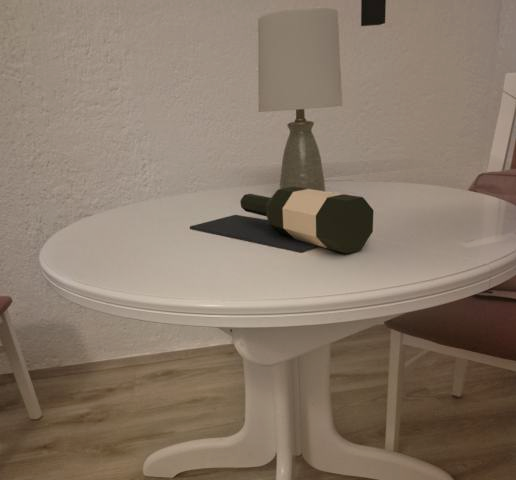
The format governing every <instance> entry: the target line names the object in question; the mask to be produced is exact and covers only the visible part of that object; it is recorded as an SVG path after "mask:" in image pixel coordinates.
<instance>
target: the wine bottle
mask: <svg viewBox="0 0 516 480" xmlns="http://www.w3.org/2000/svg"><path fill="white" fill-rule="evenodd" d="M325 191H326V190H325ZM325 191H319V190H312V189H305V188H299V187H289V188H283V189H280V188H278V189H277V190H276V191H275V192H274V194H272V196H264V195H260V194H259V195H258V194H253V193H246V194H243V196H242V197H241V199H240V201H239V202H240V208H241V209H242V210H244V211H245V212H246V213H251V214H255V215H259V216H263V217H266V220H268V223H269V225H270V226H271V227H272V228H273V229H275V230H276V231H277V232H278V233H279V234H280V235H283V236H286V237H290V238H293V239H297V240H300V241H304V242H307V243H311V244H314V245H318V246H319V247H321V248H325V249H328V250H331V251H336V252H339V253H342V254H349V253H352V252H357V251H360V250H363V248H364V246H365V245H366V243H367V241H368V240H369V238H370V237H371V235H372V234H373V231H374V209H373V208H372V206H371V205H370V204H369V203H368V201H367V200H366V198H364V197H363V196H359V195H358V196H357V195H351V194H345V193H339V192H333V191H332V192H331V191H326V192H325Z"/></svg>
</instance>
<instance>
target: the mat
mask: <svg viewBox="0 0 516 480" xmlns="http://www.w3.org/2000/svg"><path fill="white" fill-rule="evenodd" d="M189 229H190V230H194V231H198V232H203V233H209V234H213V235H218V236H223V237H227V238H231V239H235V240H236V239H237V240H241V241H245V242H250V243H255V244H260V245H264V246H269V247H274V248H277V249H283V250H287V251H292V252H298V253H305V252H307V251H310V250H312V249H315V248H318V247H320V246H318V245H314V244H311V243H307V242H304V241H300V240H297V239H293V238H290V237H286V236H283V235H280V234H279V233H278V232H277V231H276V230H275V229H273V228H272V227H271V226H270V225H269V223H268V219H264V218H259V217H253V216H245V215H239V214H232V215H229V216H225V217H220V218H217V219H213V220H208V221H205V222H201V223H197V224H194V225H190V226H189Z"/></svg>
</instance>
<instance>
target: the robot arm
mask: <svg viewBox="0 0 516 480" xmlns="http://www.w3.org/2000/svg"><path fill="white" fill-rule="evenodd" d="M360 1H361V2H360V5H361V6H360V27H373V26H381V25H384V24H386V11H387V10H386V7H387V0H360Z"/></svg>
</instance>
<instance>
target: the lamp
mask: <svg viewBox="0 0 516 480" xmlns="http://www.w3.org/2000/svg"><path fill="white" fill-rule="evenodd" d="M257 23H258V24H257V26H258V27H257V28H258V29H257V32H258V33H257V34H258V35H257V37H258V39H257V41H258V44H257V45H258V53H257V55H258V59H257V60H258V61H257V62H258V69H257V70H258V112H262V113H263V112H264V113H265V112H282V111H295V119H294V121H291V122H288V123H287V124H286V126H287V128H288V130H289V134H288V137H287V140H286V142H285V145H284V149H283V154H282V160H281V168H280V179H279V189H283V188H289V187H299V188H305V189H312V190H319V191H325V192H327V191H326V185H325V183H326V182H325V176H324V170H323V163H322V162H323V161H322V157H321V153H320V150H319V146H318V144H317V143H318V142H317V141H316V139H315V136H314V134H313V131H312V129H313V127H314V125H315V122H314V121H312V120H307V119H306V117H305V114H306V113H305V110H308V109H309V110H311V109H323V108H332V107H333V108H334V107H341V106H343V93H342V92H343V91H342V73H341V69H342V68H341V54H340V52H341V51H340V50H341V49H340V29H339V12H338V10H337V9H335V8H330V7H304V8H291V9H285V10H279V11H273V12H270V13H266V14H263V15H261V16H259V17H258V21H257Z"/></svg>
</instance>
